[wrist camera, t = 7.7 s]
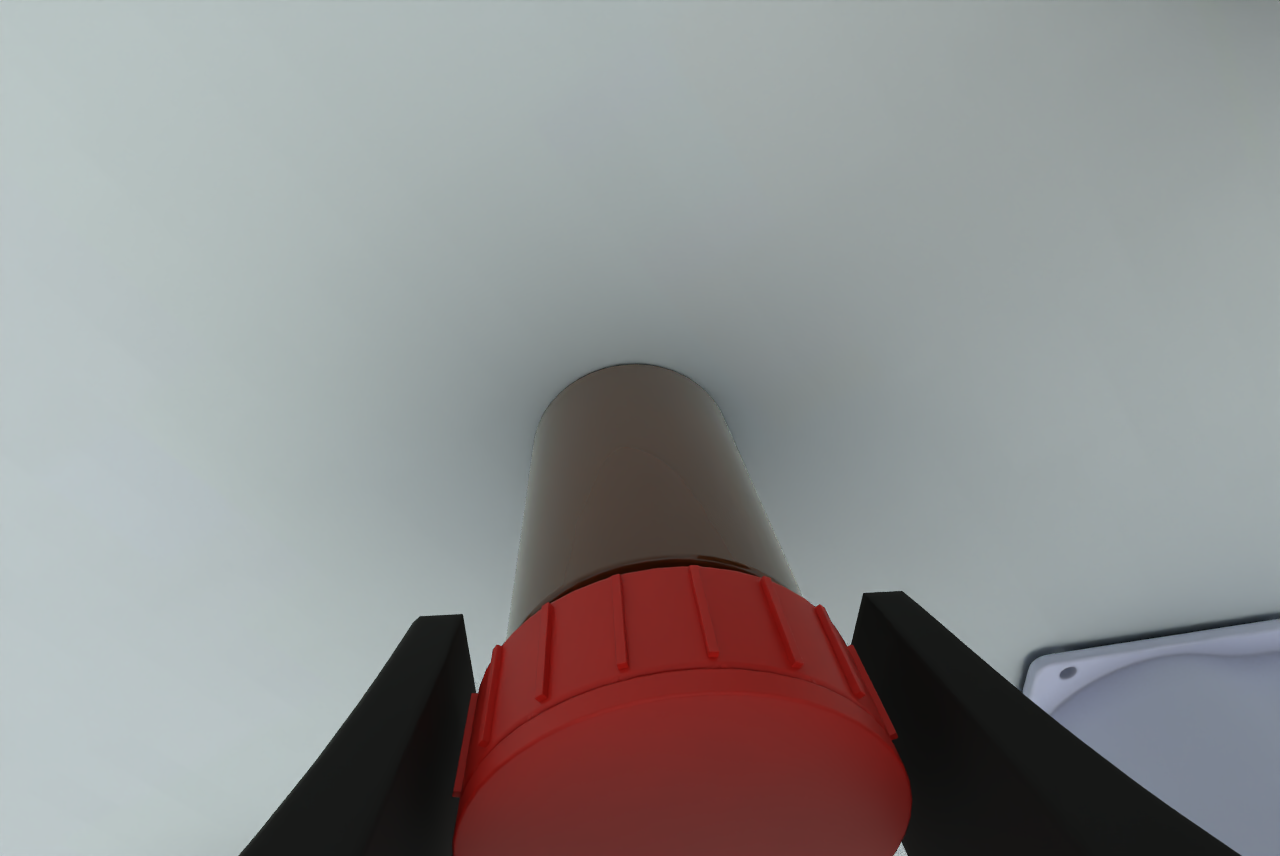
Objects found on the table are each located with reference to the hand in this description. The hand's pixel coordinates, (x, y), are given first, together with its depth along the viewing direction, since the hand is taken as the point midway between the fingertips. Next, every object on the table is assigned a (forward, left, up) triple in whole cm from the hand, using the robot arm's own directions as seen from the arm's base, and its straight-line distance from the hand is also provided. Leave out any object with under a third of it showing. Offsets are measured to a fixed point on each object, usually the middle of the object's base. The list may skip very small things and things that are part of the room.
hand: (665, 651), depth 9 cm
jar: (0, 0, -6) cm, 6 cm away
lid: (0, 0, +2) cm, 3 cm away
